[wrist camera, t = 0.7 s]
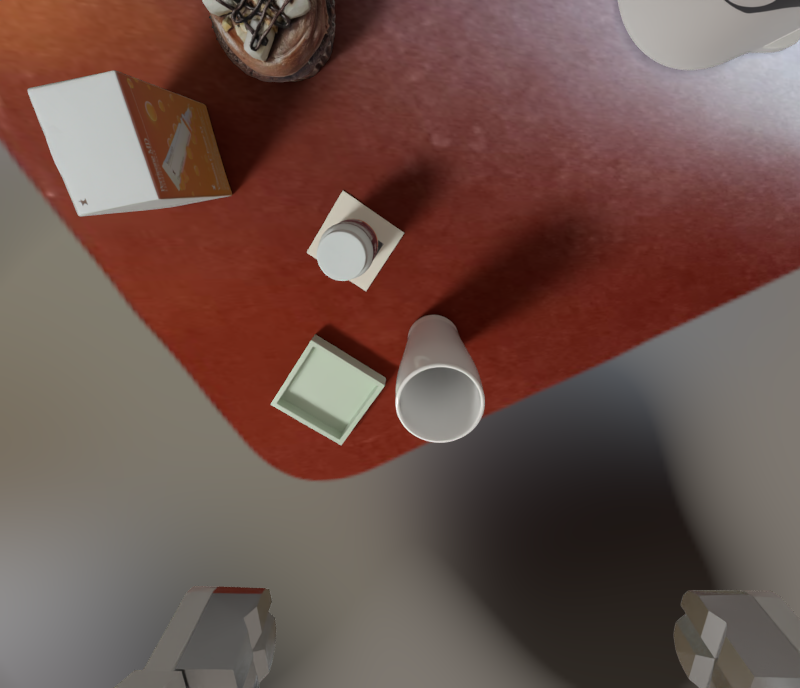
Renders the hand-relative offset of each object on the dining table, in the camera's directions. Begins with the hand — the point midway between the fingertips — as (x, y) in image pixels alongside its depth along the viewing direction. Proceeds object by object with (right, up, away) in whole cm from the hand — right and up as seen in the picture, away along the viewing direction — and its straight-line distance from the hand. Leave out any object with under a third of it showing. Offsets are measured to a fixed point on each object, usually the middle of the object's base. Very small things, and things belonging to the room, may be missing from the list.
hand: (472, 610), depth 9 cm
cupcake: (-11, +32, +29) cm, 44 cm away
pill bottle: (-6, +15, +35) cm, 38 cm away
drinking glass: (+2, +6, +38) cm, 39 cm away
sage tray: (-9, 0, +40) cm, 41 cm away
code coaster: (-6, +15, +35) cm, 38 cm away
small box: (-21, +23, +33) cm, 45 cm away
